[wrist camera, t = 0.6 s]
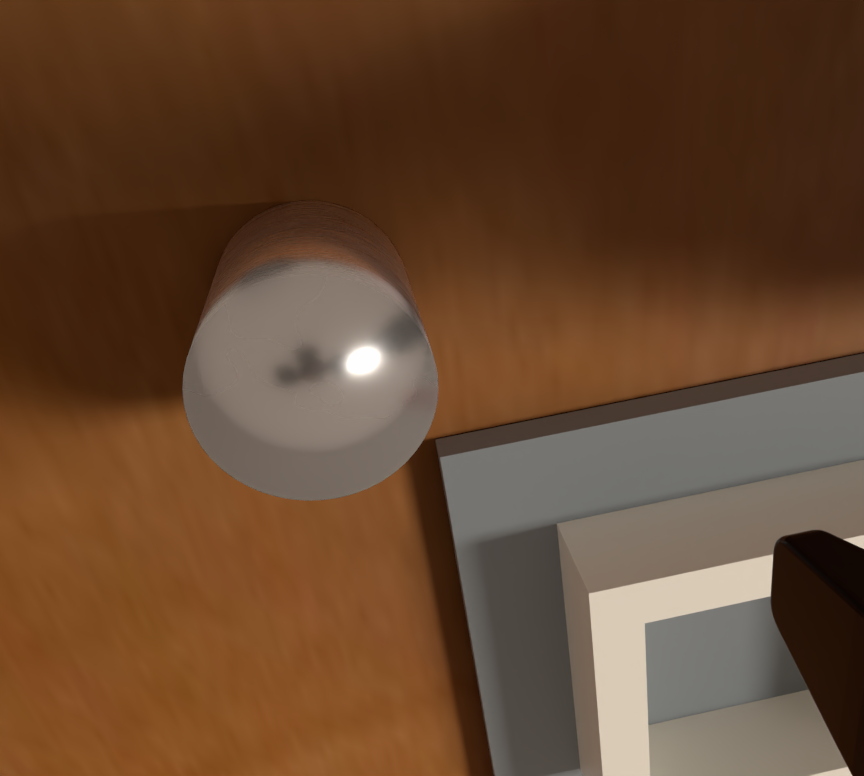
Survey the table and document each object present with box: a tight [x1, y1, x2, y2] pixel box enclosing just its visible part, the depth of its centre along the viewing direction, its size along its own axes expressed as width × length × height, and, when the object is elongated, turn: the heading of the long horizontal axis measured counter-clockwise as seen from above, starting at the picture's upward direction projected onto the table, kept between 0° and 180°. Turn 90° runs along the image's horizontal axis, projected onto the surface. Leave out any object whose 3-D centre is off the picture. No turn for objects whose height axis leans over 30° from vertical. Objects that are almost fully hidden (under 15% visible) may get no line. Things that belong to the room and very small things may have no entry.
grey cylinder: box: [182, 200, 438, 500], centre depth 15 cm, size 4×4×5 cm
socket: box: [435, 353, 864, 776], centre depth 21 cm, size 14×14×3 cm
